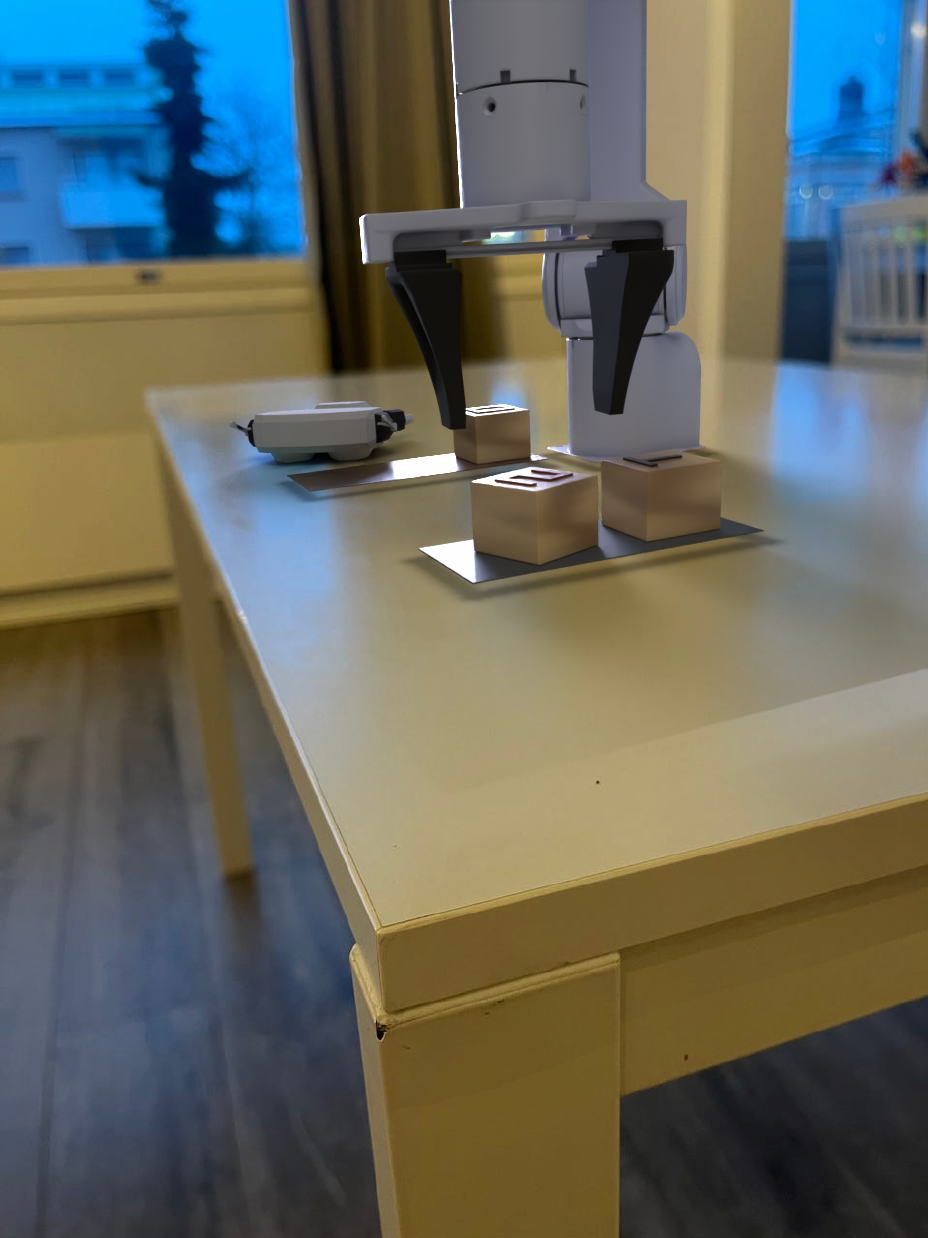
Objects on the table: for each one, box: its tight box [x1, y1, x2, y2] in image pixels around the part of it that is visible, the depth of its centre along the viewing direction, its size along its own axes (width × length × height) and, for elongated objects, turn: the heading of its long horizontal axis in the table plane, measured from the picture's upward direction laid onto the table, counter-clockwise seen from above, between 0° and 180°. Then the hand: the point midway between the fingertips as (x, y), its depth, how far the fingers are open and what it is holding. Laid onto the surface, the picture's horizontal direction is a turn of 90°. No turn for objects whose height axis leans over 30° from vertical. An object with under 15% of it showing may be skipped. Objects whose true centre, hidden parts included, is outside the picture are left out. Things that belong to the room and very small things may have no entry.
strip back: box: [286, 452, 549, 493], centre depth 70 cm, size 18×7×1 cm, turn 113°
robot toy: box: [229, 400, 415, 463], centre depth 79 cm, size 12×4×15 cm
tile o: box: [452, 404, 532, 464], centre depth 71 cm, size 4×4×4 cm
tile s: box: [469, 466, 600, 565], centre depth 46 cm, size 4×4×4 cm
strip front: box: [418, 516, 765, 585], centre depth 48 cm, size 16×7×1 cm, turn 113°
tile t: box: [600, 450, 723, 542], centre depth 49 cm, size 4×4×4 cm
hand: (532, 419), depth 45 cm, fingers open, 7 cm apart
